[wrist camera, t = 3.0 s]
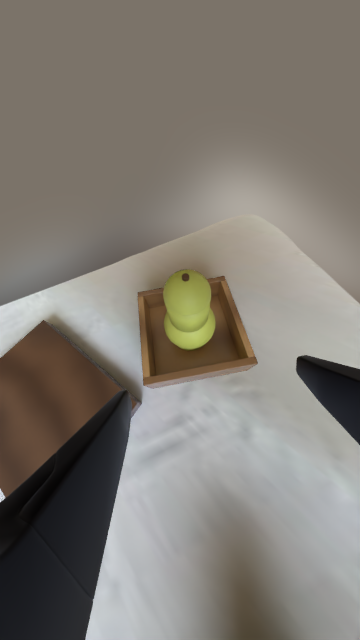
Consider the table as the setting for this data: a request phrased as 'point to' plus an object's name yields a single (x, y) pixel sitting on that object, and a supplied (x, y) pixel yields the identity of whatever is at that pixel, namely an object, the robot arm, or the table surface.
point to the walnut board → (46, 400)
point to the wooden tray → (209, 361)
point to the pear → (188, 310)
